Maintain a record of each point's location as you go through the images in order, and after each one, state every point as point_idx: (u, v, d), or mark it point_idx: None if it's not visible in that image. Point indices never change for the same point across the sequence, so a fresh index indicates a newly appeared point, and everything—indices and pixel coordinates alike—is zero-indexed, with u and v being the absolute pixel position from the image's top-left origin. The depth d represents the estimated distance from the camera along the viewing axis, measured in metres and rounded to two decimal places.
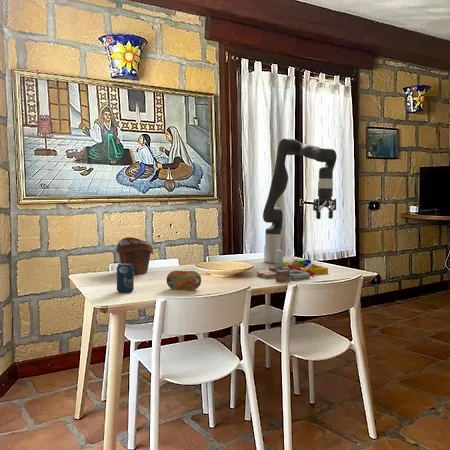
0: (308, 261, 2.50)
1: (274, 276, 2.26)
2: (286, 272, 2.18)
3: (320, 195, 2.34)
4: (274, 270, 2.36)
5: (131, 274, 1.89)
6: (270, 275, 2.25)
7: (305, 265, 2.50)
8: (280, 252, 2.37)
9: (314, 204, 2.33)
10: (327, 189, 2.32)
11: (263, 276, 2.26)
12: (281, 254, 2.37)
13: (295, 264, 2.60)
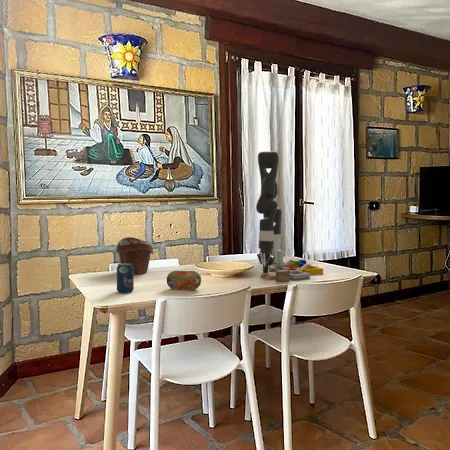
0: (303, 261, 2.48)
1: None
2: (286, 272, 2.18)
3: (270, 248, 2.27)
4: (274, 270, 2.36)
5: (131, 274, 1.89)
6: (274, 276, 2.22)
7: (300, 265, 2.48)
8: (280, 252, 2.37)
9: (270, 261, 2.26)
10: None
11: (267, 277, 2.23)
12: (281, 254, 2.37)
13: (290, 264, 2.58)
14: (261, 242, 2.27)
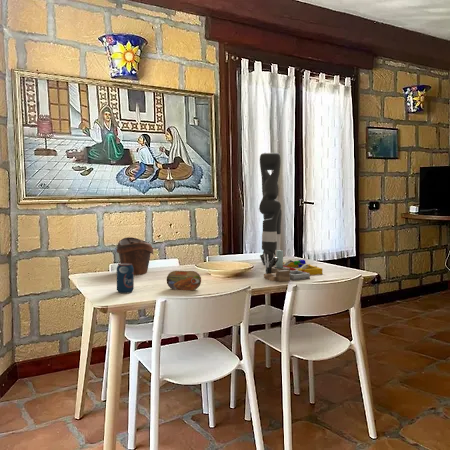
0: (303, 261, 2.48)
1: None
2: (286, 272, 2.18)
3: (274, 249, 2.25)
4: (274, 270, 2.36)
5: (131, 274, 1.89)
6: None
7: (300, 265, 2.48)
8: (280, 252, 2.37)
9: (273, 263, 2.24)
10: None
11: (270, 278, 2.21)
12: (281, 254, 2.37)
13: (290, 264, 2.58)
14: (264, 243, 2.25)
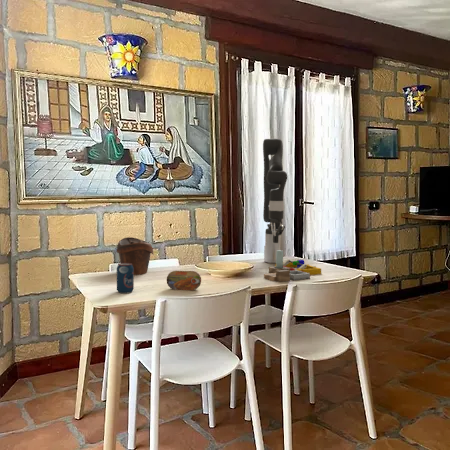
0: (301, 262, 2.48)
1: None
2: (286, 272, 2.18)
3: (280, 218, 2.33)
4: (274, 270, 2.36)
5: (131, 274, 1.89)
6: None
7: (298, 266, 2.48)
8: (280, 252, 2.37)
9: (280, 231, 2.32)
10: None
11: (270, 278, 2.21)
12: (281, 254, 2.37)
13: (288, 264, 2.58)
14: (271, 212, 2.33)
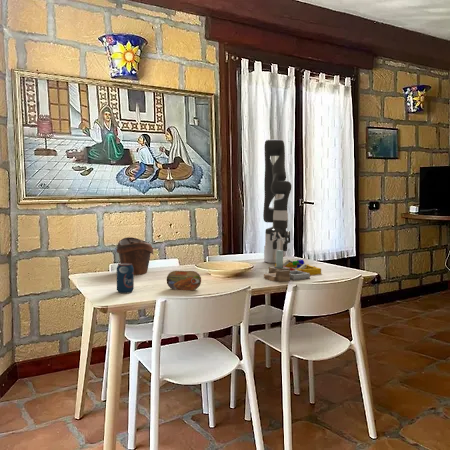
0: (301, 262, 2.48)
1: None
2: (286, 272, 2.18)
3: (285, 227, 2.34)
4: (274, 270, 2.36)
5: (131, 274, 1.89)
6: None
7: (298, 266, 2.48)
8: (280, 252, 2.37)
9: (287, 236, 2.32)
10: None
11: (270, 278, 2.21)
12: (281, 254, 2.37)
13: (288, 265, 2.58)
14: (276, 221, 2.35)
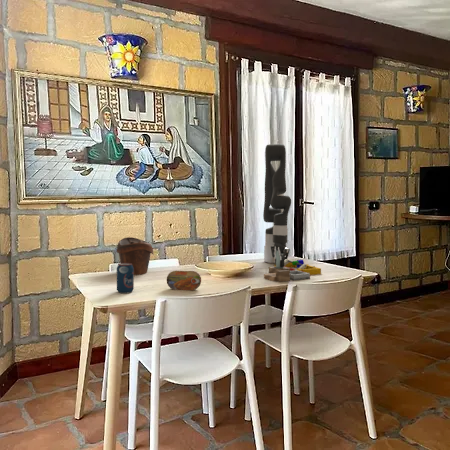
0: (301, 261, 2.48)
1: None
2: (286, 272, 2.18)
3: (285, 242, 2.35)
4: (274, 270, 2.36)
5: (131, 274, 1.89)
6: None
7: (298, 266, 2.48)
8: None
9: (286, 254, 2.33)
10: None
11: (270, 278, 2.21)
12: None
13: (288, 264, 2.58)
14: (275, 236, 2.35)
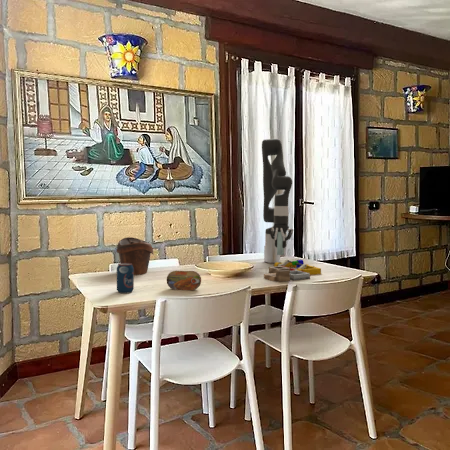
0: (301, 261, 2.48)
1: None
2: (286, 272, 2.18)
3: (287, 222, 2.36)
4: (274, 270, 2.36)
5: (131, 274, 1.89)
6: None
7: (298, 266, 2.48)
8: None
9: (290, 234, 2.34)
10: None
11: (270, 278, 2.21)
12: None
13: (287, 264, 2.58)
14: (279, 217, 2.33)
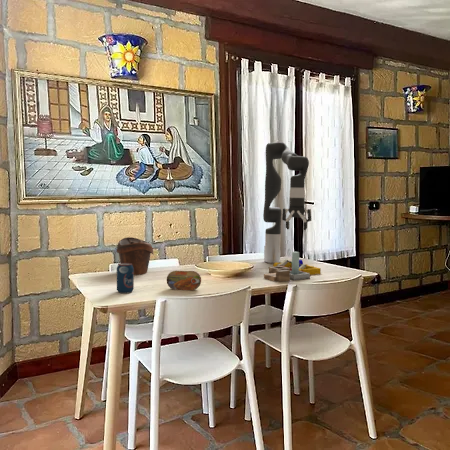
0: (300, 261, 2.48)
1: None
2: (286, 272, 2.18)
3: (304, 205, 2.24)
4: (274, 270, 2.36)
5: (131, 274, 1.89)
6: None
7: None
8: (298, 253, 2.26)
9: (310, 215, 2.23)
10: None
11: (271, 278, 2.21)
12: (298, 255, 2.26)
13: (286, 265, 2.58)
14: (297, 199, 2.22)
